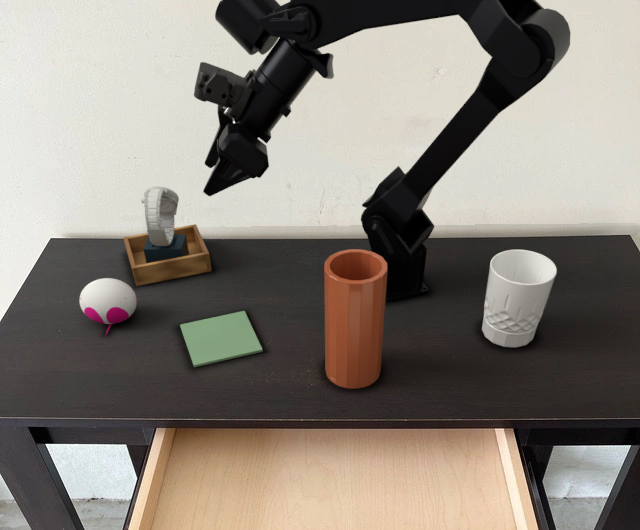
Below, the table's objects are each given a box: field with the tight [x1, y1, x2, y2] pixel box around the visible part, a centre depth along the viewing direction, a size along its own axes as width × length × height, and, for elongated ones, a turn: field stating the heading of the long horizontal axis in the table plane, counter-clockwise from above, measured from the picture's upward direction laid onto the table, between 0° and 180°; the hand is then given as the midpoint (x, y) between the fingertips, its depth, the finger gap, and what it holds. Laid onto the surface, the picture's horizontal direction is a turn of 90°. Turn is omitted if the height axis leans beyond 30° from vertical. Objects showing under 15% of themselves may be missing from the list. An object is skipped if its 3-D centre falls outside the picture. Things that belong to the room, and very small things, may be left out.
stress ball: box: [77, 277, 138, 335], centre depth 89 cm, size 8×8×7 cm
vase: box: [323, 248, 387, 390], centre depth 77 cm, size 7×7×15 cm
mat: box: [179, 310, 264, 368], centre depth 87 cm, size 9×9×1 cm
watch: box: [140, 185, 189, 263], centre depth 96 cm, size 6×8×11 cm
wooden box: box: [123, 224, 213, 287], centre depth 99 cm, size 11×9×3 cm
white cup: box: [481, 249, 558, 348], centre depth 83 cm, size 8×8×10 cm
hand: (206, 179), depth 90 cm, fingers open, 9 cm apart
